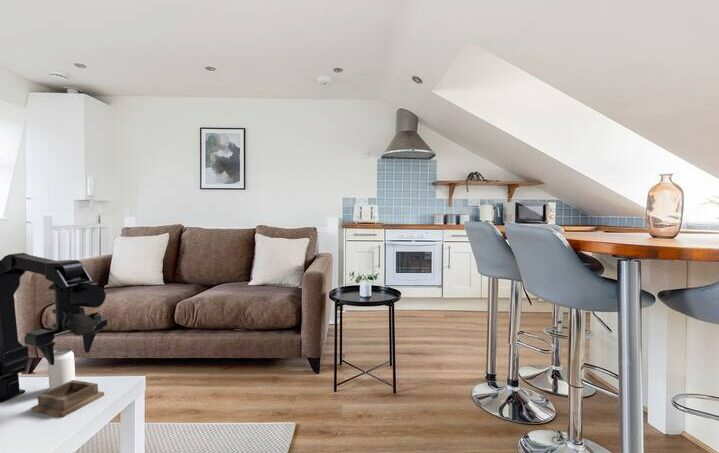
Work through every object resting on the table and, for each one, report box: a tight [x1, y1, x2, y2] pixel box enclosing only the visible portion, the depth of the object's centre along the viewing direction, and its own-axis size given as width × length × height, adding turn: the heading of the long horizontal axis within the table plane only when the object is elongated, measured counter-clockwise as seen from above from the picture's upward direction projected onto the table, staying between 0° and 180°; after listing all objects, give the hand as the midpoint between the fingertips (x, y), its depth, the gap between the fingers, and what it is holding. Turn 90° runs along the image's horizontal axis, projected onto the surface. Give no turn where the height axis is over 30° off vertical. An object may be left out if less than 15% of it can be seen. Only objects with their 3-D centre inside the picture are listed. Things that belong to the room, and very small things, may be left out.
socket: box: [31, 379, 105, 418], centre depth 109 cm, size 12×12×4 cm
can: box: [47, 347, 76, 391], centre depth 117 cm, size 6×6×12 cm
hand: (70, 358), depth 107 cm, fingers open, 9 cm apart
